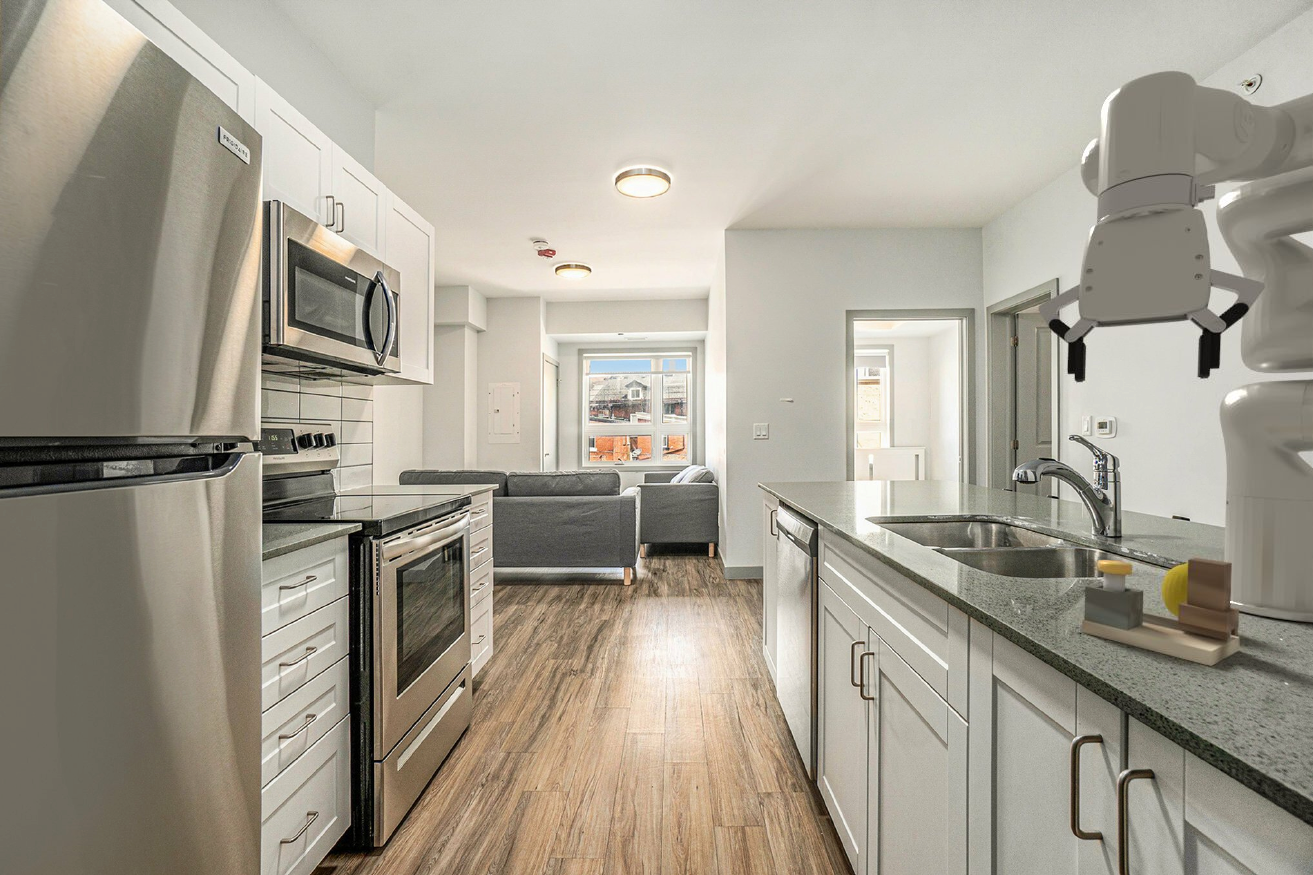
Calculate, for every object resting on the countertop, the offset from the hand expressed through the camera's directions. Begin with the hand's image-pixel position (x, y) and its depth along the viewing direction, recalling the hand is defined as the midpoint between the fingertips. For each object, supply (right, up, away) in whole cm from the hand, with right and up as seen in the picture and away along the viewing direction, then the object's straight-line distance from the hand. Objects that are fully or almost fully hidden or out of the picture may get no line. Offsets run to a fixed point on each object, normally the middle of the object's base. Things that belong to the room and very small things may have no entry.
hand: (1138, 379), depth 59 cm
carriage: (+13, -27, +6) cm, 31 cm away
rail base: (+9, -29, +8) cm, 32 cm away
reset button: (+5, -26, +10) cm, 28 cm away
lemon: (+18, -30, +14) cm, 37 cm away
